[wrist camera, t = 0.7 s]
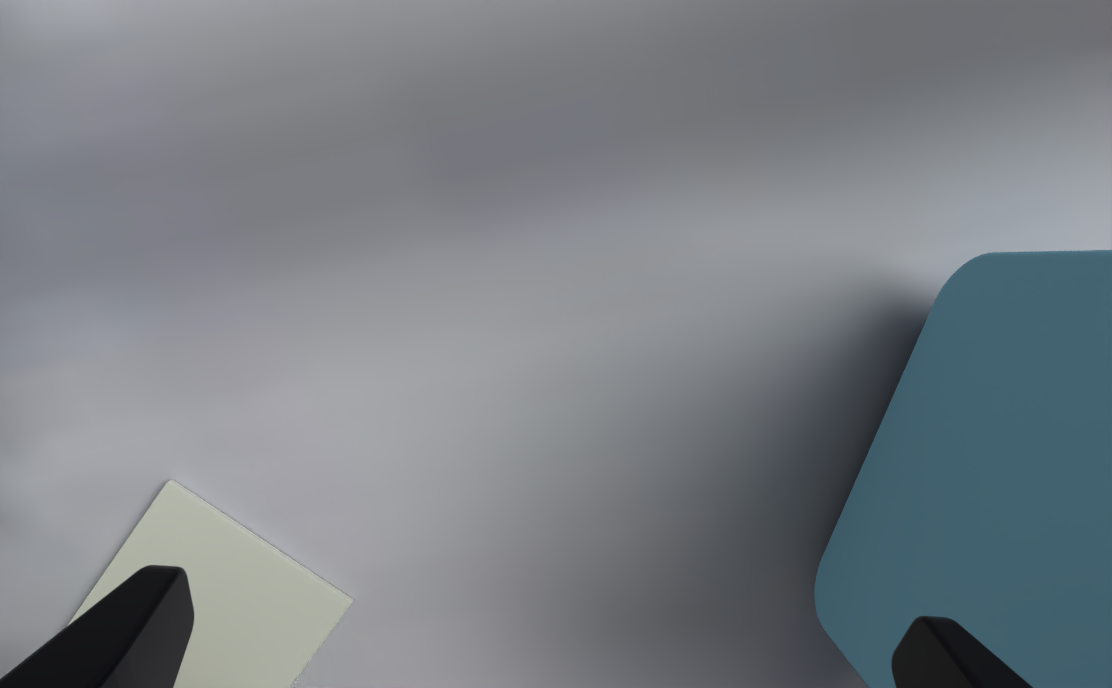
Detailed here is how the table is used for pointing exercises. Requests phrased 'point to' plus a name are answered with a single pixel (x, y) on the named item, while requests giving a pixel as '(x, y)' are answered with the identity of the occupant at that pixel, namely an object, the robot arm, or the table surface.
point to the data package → (990, 479)
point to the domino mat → (229, 594)
